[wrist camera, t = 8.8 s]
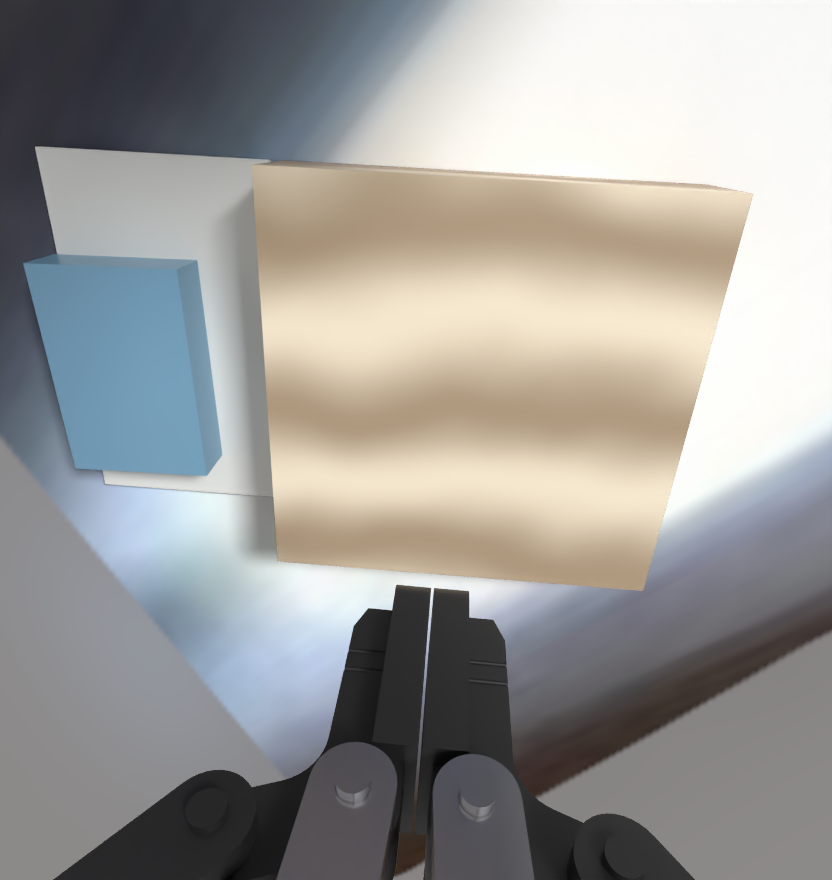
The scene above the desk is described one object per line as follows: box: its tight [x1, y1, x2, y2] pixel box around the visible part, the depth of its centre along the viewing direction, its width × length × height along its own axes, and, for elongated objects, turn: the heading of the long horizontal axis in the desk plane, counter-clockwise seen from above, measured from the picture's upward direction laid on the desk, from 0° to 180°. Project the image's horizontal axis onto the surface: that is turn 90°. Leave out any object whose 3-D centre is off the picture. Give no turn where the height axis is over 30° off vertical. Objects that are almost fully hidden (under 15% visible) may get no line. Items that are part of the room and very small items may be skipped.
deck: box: [252, 160, 753, 591], centre depth 25 cm, size 16×16×4 cm
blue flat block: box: [23, 254, 222, 476], centre depth 26 cm, size 9×6×2 cm, turn 178°
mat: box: [35, 147, 273, 497], centre depth 27 cm, size 15×9×1 cm, turn 177°
